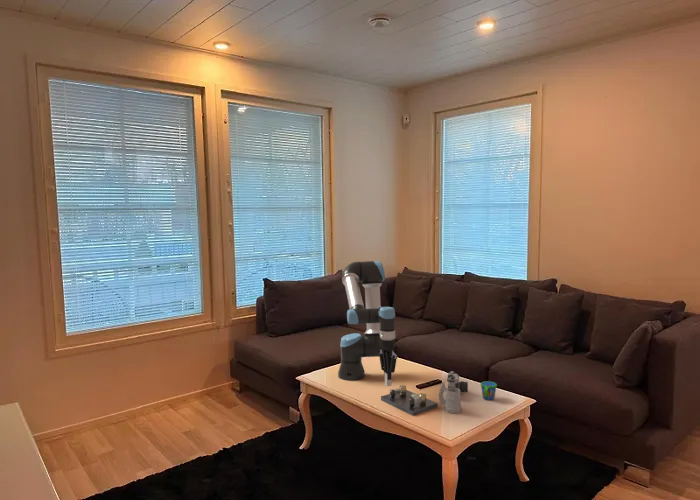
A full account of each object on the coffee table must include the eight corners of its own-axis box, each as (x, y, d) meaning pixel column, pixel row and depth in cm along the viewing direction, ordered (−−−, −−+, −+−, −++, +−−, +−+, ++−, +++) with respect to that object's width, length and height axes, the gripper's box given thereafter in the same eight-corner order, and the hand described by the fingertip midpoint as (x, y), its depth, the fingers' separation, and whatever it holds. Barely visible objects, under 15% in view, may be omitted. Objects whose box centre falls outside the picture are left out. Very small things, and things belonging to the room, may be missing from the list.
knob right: (407, 405, 233) (407, 397, 233) (422, 401, 239) (422, 392, 239) (412, 407, 231) (412, 399, 230) (427, 403, 236) (427, 394, 236)
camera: (467, 400, 245) (467, 380, 244) (446, 398, 247) (446, 379, 247) (467, 389, 260) (467, 370, 260) (447, 387, 263) (447, 369, 262)
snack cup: (485, 393, 254) (485, 378, 254) (500, 396, 250) (500, 381, 249) (476, 400, 245) (476, 385, 244) (492, 403, 240) (492, 388, 240)
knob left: (388, 396, 245) (388, 388, 244) (403, 392, 250) (403, 384, 250) (392, 398, 242) (392, 390, 242) (407, 394, 248) (407, 386, 247)
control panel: (381, 400, 247) (380, 392, 246) (405, 393, 256) (405, 385, 255) (412, 415, 228) (412, 407, 228) (437, 407, 237) (437, 399, 237)
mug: (455, 415, 228) (455, 389, 227) (434, 408, 236) (434, 383, 235) (464, 410, 233) (465, 385, 232) (444, 403, 241) (444, 379, 240)
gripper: (373, 337, 250) (374, 383, 251) (390, 342, 239) (390, 390, 241) (385, 335, 254) (385, 380, 256) (402, 340, 244) (402, 387, 245)
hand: (388, 385), depth 248 cm, fingers closed
